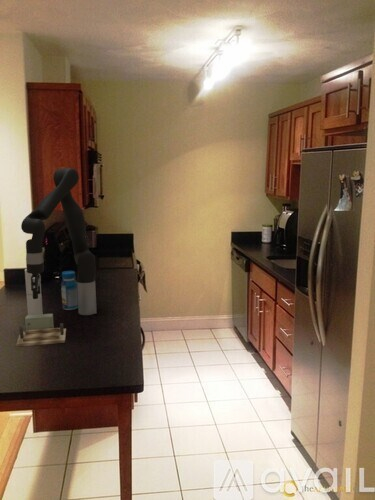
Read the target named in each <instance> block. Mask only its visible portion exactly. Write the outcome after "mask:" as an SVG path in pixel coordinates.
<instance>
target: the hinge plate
mask: <svg viewBox="0 0 375 500" xmlns="http://www.w3.org/2000/svg"><path fill="white" fill-rule="evenodd" d="M66 334H67V328H64V323H63V322H61V323H59V327H54V328H48V329H35V330H26V329H25V331H24V327H23V326H19V335H18V337H17V342H16V345H15V347H16V348H17V347H18V348H20V347H28V346H40V345H41V346H42V345H52V344H53V345H54V344H64V343H66Z"/></svg>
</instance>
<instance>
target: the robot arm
mask: <svg viewBox="0 0 375 500" xmlns="http://www.w3.org/2000/svg"><path fill="white" fill-rule="evenodd" d="M79 180H80V175H79V173H78V171H77V169H75V168H73V167H66V168H59V169H56V170H55V171H54V172H53V183H54V186H55V188H54V189H53V190H51V191H50V192H49V193H47V195H45V196H44V197H43V198H42V199H41V201H40V202H39V203H38V205H36V208H35V209H34V210H32V211H31V212H30V213H29V214H28V215H27V216H26V217H25V218H24V219H23V220H22V221H21V225H20V226H21V227H20V228H21V230H22V232H23V233H25V234H29V235H32V237H31V238H30V239H28V240H25V249H26V250H25V253H26V255H25V260H26V261H25V263H26V267H25V268H26V269H27V273H31V274H32V276H31V291H33V299H38V294H40V286H39V285H41V286H42V284H40V283H41V282H42V279H41V278H42V276H41V274H42V273H44V272H45V263H44V260H45V259H44V253H43V241H44V236H45V234H46V233H45V232H46V223H45V222H44V221H46V220H48V219H49V218H50V216H51V215H52V214H53V213H54V210H55V209H56V208H57V207H58V205H59V204H60V203H61V207H62V211H63V215H64V219H65V223H66V227H67V231H68V235H69V237H70V240H71V243H72V249H73V259H74V261H75V264H76V266H77V275H76V282H77V297H78V308H77V309H78V311H77V313H78V315H80V316H81V315H82V316H92V315H95V314H98V313H97V296H96V274H97V271H96V270H97V266H96V257H95V255H94V253H92V252H91V251H90V249H89V246H88V241H87V237H86V236H87V225H86V220H85V215H84V212H83V210H82V207H80V205H79V204H78V203H77V201H76V200H75V198H74V197H73V195H72V192H71V190H73V189H74V188H75V186H76V185H77V184H78V183H79ZM34 286H35V288H34Z"/></svg>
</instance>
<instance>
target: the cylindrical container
mask: <svg viewBox="0 0 375 500" xmlns="http://www.w3.org/2000/svg"><path fill="white" fill-rule="evenodd" d="M31 276H32V274H31V273H27V268H25V269H24V279H25V289H26V290H25V291H26V292H25V293H26V304H27V305H26V306H27V315H40V314H44V313H43V297H42V296H43V295H42V284H41V283H40V284H41V285H39V286H40V294H38V299H33V291H31ZM34 288H35V286H34Z"/></svg>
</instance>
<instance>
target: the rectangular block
mask: <svg viewBox="0 0 375 500" xmlns="http://www.w3.org/2000/svg"><path fill="white" fill-rule="evenodd" d="M24 322H25V331H26V330H35V329H48V328H55V327H54V313H43V314H40V315H28V314H27V315H25V318H24Z"/></svg>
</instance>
